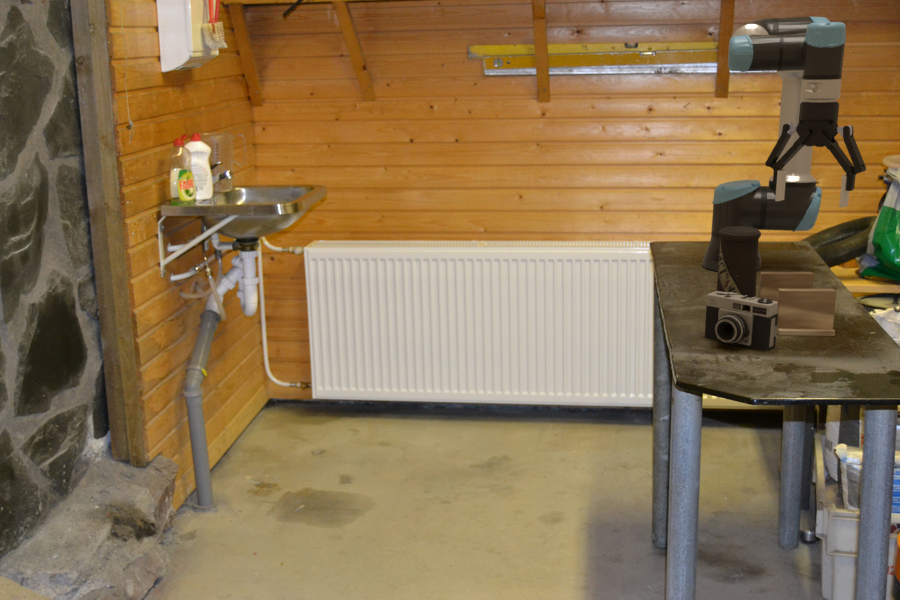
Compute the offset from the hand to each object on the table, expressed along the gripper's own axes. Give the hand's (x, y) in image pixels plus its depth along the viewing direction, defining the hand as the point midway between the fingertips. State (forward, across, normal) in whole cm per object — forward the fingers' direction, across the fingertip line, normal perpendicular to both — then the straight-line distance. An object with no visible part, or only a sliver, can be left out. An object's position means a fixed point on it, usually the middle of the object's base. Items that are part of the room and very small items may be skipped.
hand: (810, 203), depth 188 cm
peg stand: (+25, 0, -4) cm, 26 cm away
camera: (+26, -2, -26) cm, 37 cm away
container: (+25, -11, -8) cm, 29 cm away
